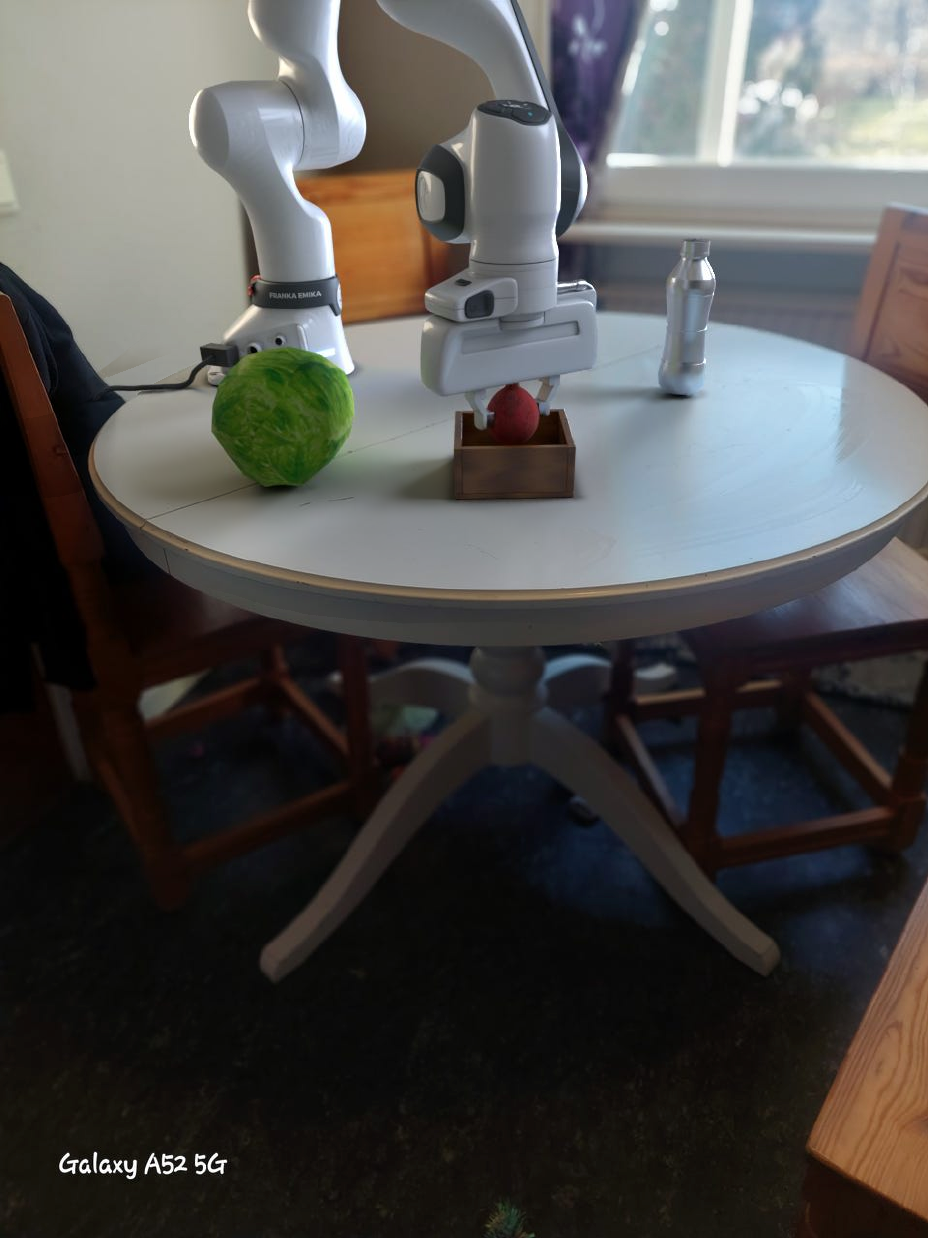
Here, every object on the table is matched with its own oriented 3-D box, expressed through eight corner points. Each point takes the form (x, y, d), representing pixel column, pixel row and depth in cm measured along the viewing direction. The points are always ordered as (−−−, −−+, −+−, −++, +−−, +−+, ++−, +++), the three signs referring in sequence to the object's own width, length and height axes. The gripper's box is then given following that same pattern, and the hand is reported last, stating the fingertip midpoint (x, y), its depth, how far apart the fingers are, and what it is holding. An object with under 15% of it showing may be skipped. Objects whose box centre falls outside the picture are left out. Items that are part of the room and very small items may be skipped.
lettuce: (256, 452, 113) (370, 471, 112) (181, 480, 92) (321, 504, 90) (263, 334, 108) (383, 353, 107) (186, 335, 87) (334, 359, 86)
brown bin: (455, 499, 93) (453, 449, 90) (456, 457, 103) (455, 410, 100) (573, 497, 92) (576, 446, 89) (562, 455, 103) (564, 408, 100)
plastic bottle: (677, 402, 119) (693, 245, 109) (646, 390, 124) (659, 239, 114) (713, 395, 122) (733, 240, 111) (682, 383, 127) (698, 235, 117)
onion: (534, 460, 93) (536, 386, 89) (481, 457, 94) (480, 384, 90) (541, 441, 98) (543, 370, 94) (491, 439, 99) (490, 369, 95)
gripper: (578, 272, 94) (572, 398, 101) (409, 294, 86) (416, 430, 93) (615, 281, 89) (606, 412, 97) (440, 305, 81) (444, 448, 88)
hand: (512, 421), depth 95 cm, fingers closed on onion, 6 cm apart
